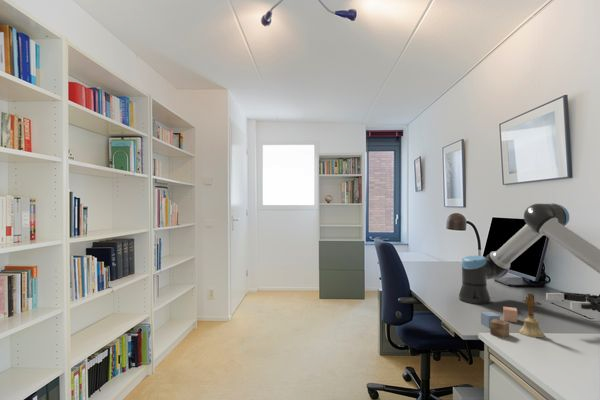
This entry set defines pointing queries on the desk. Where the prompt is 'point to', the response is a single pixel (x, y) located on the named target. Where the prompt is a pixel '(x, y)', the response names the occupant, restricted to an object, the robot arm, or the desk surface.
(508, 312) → the terracotta block
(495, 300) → the desk surface
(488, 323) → the slate-blue block
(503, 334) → the walnut block
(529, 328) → the hand bell
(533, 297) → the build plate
